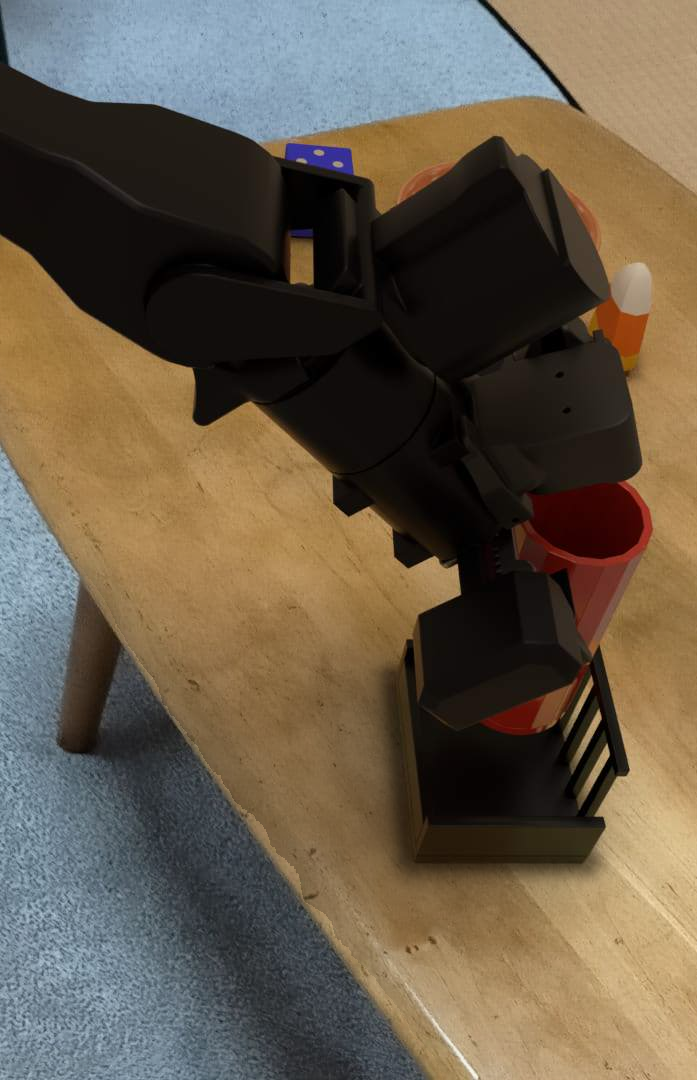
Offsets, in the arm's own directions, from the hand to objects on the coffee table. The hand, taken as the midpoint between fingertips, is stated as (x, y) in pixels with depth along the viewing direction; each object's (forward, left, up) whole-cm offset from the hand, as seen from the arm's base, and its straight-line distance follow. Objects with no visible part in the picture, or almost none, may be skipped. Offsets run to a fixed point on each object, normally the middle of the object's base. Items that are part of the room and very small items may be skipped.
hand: (572, 606), depth 57 cm
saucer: (+5, +45, -13) cm, 47 cm away
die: (-9, +47, -13) cm, 50 cm away
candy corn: (+12, +33, -13) cm, 38 cm away
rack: (-2, -1, -12) cm, 13 cm away
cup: (-1, 0, -7) cm, 7 cm away
